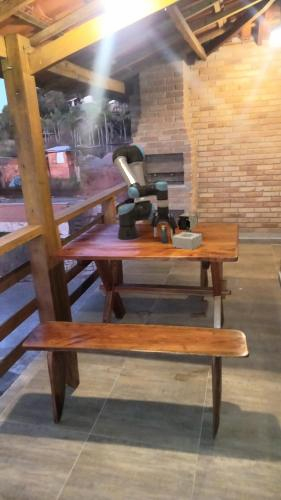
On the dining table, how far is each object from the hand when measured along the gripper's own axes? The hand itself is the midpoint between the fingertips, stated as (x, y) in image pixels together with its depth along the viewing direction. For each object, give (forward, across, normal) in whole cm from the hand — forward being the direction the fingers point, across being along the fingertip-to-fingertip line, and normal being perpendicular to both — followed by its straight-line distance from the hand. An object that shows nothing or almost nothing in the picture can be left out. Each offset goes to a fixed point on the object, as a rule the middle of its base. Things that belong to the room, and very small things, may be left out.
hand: (164, 237), depth 254 cm
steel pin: (+4, 0, 0) cm, 4 cm away
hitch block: (+4, +17, +1) cm, 17 cm away
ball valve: (+4, +7, +20) cm, 22 cm away
